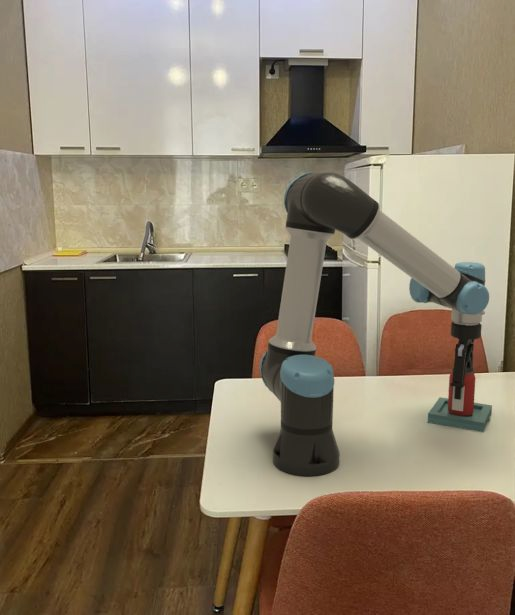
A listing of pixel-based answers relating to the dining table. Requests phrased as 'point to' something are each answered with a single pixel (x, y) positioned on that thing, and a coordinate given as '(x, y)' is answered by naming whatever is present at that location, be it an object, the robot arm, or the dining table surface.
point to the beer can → (468, 394)
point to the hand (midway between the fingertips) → (460, 404)
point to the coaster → (472, 422)
